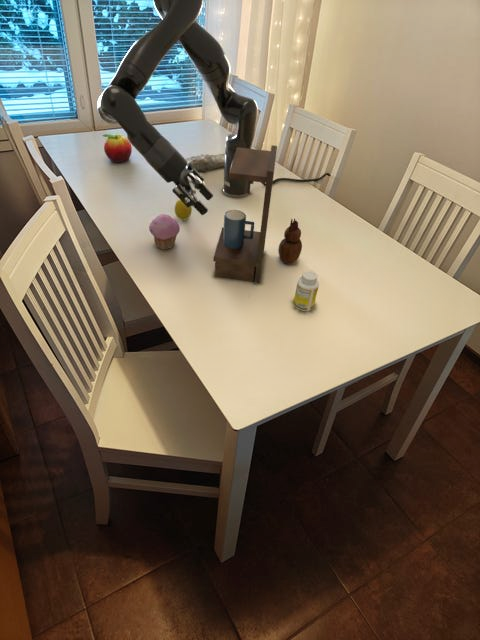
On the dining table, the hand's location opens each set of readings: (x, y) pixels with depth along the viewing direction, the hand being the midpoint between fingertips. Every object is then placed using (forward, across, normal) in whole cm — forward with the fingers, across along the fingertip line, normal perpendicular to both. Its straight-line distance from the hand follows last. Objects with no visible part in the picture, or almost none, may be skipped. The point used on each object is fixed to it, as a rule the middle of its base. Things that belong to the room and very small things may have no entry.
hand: (208, 205), depth 119 cm
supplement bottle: (+33, -15, -8) cm, 37 cm away
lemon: (+5, +21, +21) cm, 30 cm away
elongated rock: (+7, +67, +19) cm, 70 cm away
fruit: (-20, +62, +46) cm, 80 cm away
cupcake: (+3, +4, +23) cm, 23 cm away
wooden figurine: (+30, +5, -4) cm, 31 cm away
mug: (+14, 0, +2) cm, 14 cm away
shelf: (+19, 0, +6) cm, 20 cm away
